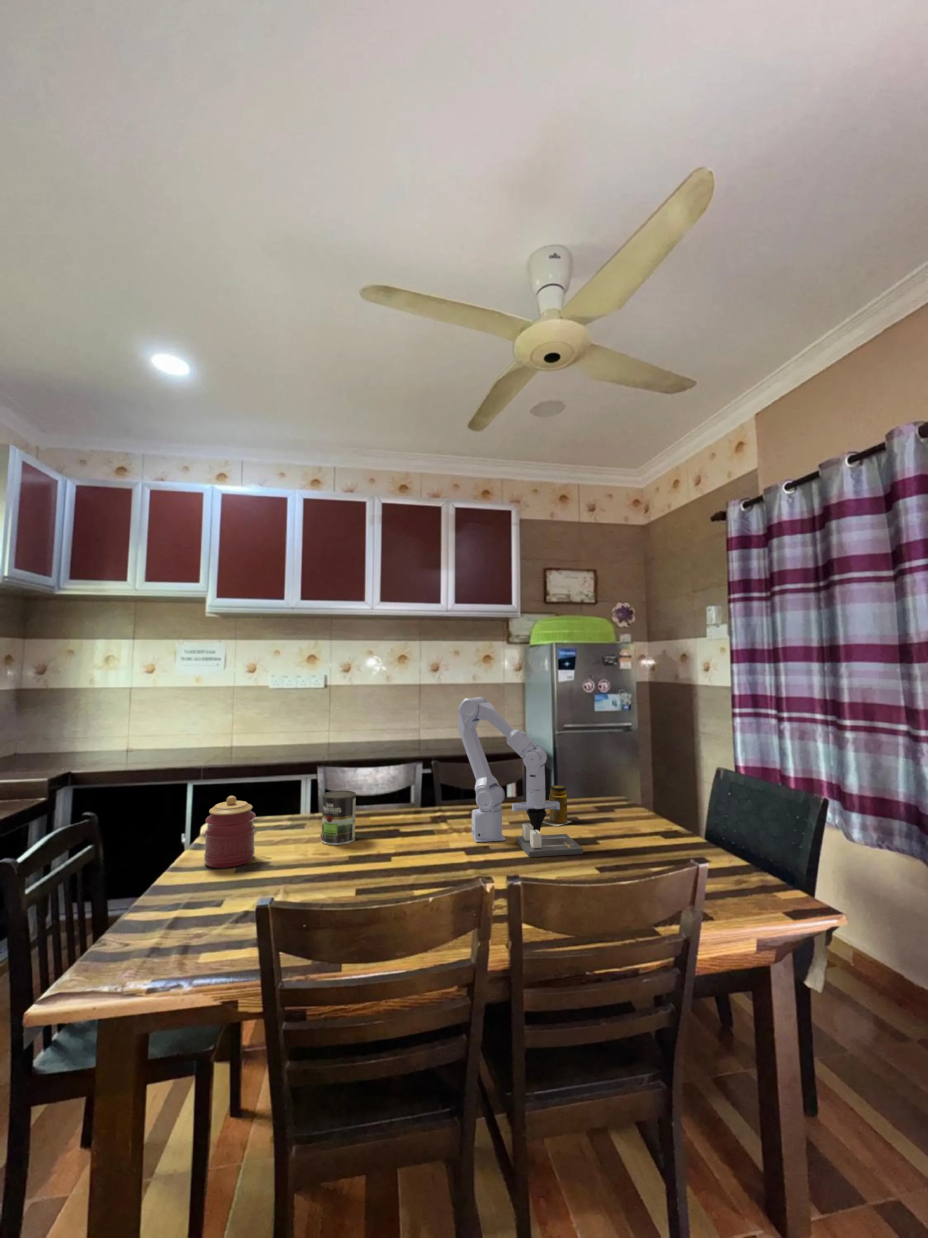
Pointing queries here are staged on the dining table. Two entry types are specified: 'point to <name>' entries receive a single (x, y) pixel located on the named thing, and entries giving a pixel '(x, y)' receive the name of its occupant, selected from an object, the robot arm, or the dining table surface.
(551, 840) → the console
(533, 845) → the fader near
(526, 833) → the fader far
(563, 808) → the condiment
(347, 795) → the coffee can
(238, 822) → the canister
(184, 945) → the dining table surface
